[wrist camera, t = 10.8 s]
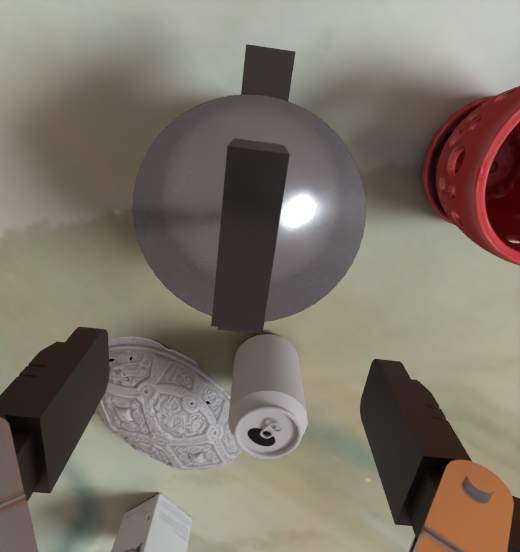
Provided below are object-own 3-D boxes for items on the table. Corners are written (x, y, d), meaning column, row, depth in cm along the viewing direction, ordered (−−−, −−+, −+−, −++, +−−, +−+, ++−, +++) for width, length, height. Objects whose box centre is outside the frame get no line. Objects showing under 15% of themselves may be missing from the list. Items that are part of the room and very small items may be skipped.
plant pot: (547, 210, 38) (661, 252, 27) (414, 237, 40) (472, 287, 29) (559, 65, 33) (705, 44, 22) (405, 101, 34) (473, 98, 23)
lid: (140, 78, 23) (97, 68, 17) (384, 113, 24) (426, 115, 18) (139, 299, 29) (107, 350, 23) (335, 322, 30) (353, 376, 24)
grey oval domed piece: (123, 309, 43) (99, 349, 37) (283, 418, 51) (283, 465, 45) (56, 380, 49) (27, 425, 43) (208, 468, 57) (201, 515, 51)
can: (222, 362, 46) (210, 442, 35) (260, 318, 43) (259, 390, 32) (272, 392, 48) (275, 477, 37) (311, 351, 45) (327, 430, 34)
